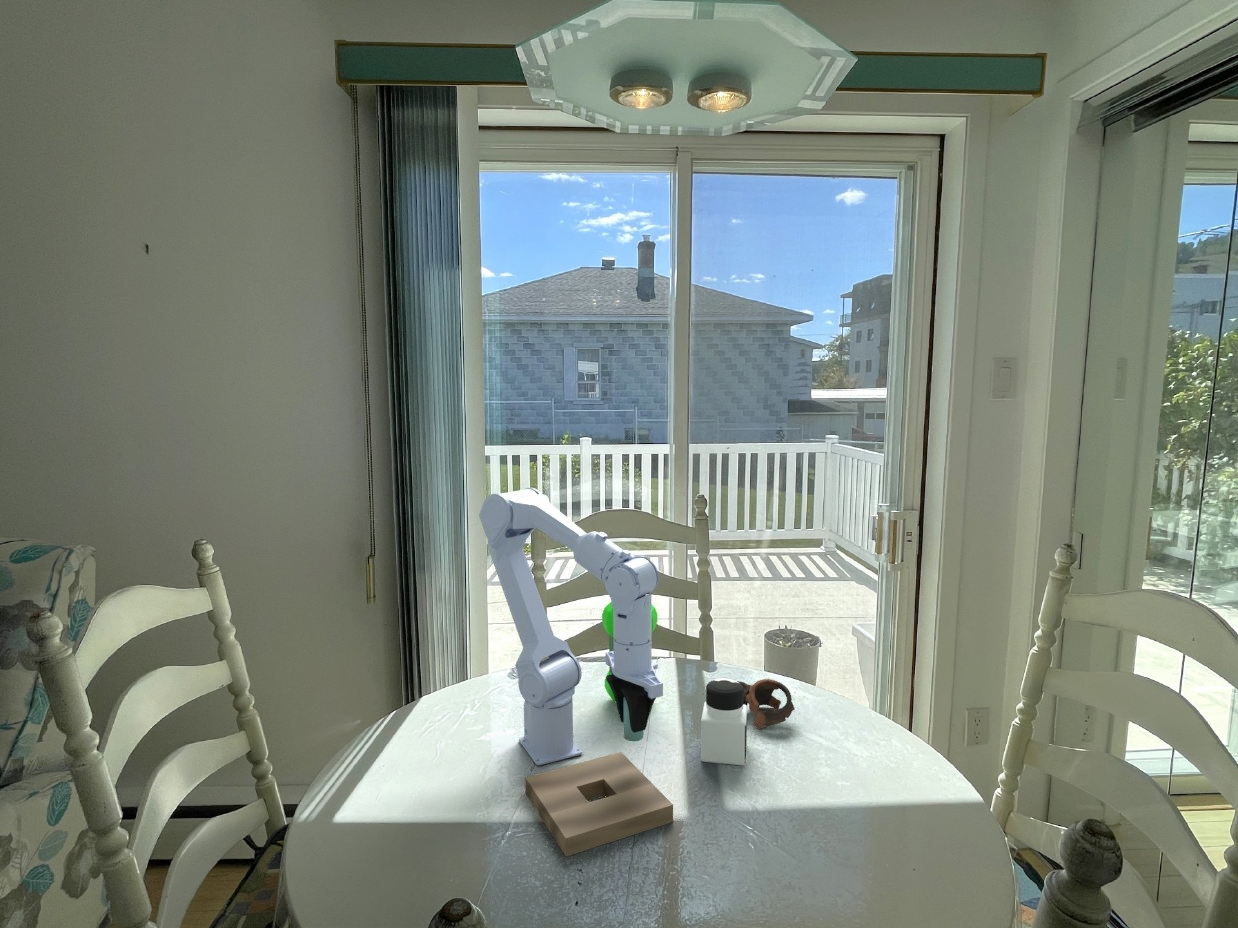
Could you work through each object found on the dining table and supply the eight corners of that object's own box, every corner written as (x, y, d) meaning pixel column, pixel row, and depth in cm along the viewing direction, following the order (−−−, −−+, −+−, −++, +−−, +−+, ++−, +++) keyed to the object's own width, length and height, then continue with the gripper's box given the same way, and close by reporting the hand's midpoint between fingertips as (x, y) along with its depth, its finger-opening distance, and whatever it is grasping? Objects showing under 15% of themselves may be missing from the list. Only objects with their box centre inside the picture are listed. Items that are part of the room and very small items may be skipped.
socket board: (525, 793, 103) (525, 777, 103) (621, 766, 110) (621, 751, 110) (566, 856, 89) (565, 838, 88) (673, 821, 96) (673, 804, 96)
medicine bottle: (745, 766, 110) (746, 694, 109) (700, 762, 111) (700, 690, 110) (746, 744, 117) (747, 675, 116) (704, 740, 118) (704, 672, 117)
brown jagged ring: (795, 712, 130) (802, 685, 125) (780, 753, 123) (787, 726, 118) (734, 686, 134) (739, 659, 129) (716, 724, 127) (721, 697, 122)
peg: (620, 734, 106) (619, 696, 105) (636, 729, 107) (636, 692, 107) (630, 743, 103) (629, 704, 103) (647, 738, 105) (647, 700, 104)
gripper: (681, 649, 99) (681, 739, 101) (632, 620, 112) (633, 701, 113) (638, 658, 96) (638, 751, 97) (593, 627, 109) (594, 710, 110)
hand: (632, 725), depth 105 cm, fingers closed on peg, 3 cm apart
